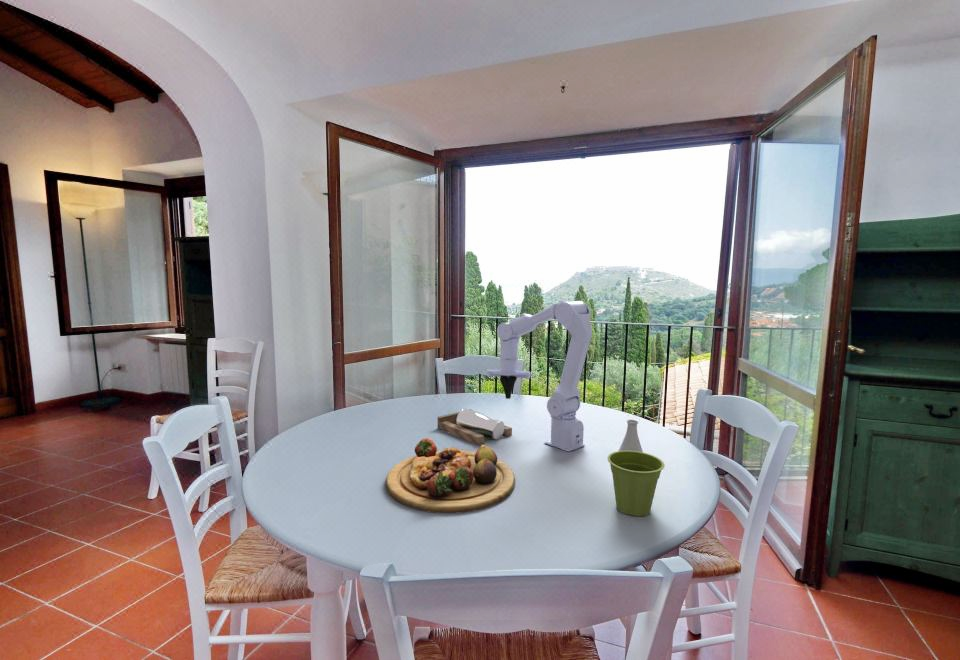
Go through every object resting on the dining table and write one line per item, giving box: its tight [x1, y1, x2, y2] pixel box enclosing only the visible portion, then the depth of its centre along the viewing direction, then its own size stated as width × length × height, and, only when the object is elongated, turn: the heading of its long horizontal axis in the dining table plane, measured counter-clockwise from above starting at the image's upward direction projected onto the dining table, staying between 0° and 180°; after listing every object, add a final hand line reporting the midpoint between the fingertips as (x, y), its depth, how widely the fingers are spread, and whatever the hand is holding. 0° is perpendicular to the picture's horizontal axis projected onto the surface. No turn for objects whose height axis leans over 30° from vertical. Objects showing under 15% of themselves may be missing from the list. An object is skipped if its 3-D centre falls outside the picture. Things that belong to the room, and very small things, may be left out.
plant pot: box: [607, 450, 665, 517], centre depth 103 cm, size 12×12×11 cm
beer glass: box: [456, 408, 506, 441], centre depth 151 cm, size 7×7×15 cm
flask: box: [618, 419, 644, 453], centre depth 135 cm, size 7×7×10 cm
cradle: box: [437, 409, 513, 446], centre depth 154 cm, size 21×14×4 cm
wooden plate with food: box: [385, 437, 516, 514], centre depth 116 cm, size 32×32×8 cm
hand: (508, 398), depth 157 cm, fingers closed
